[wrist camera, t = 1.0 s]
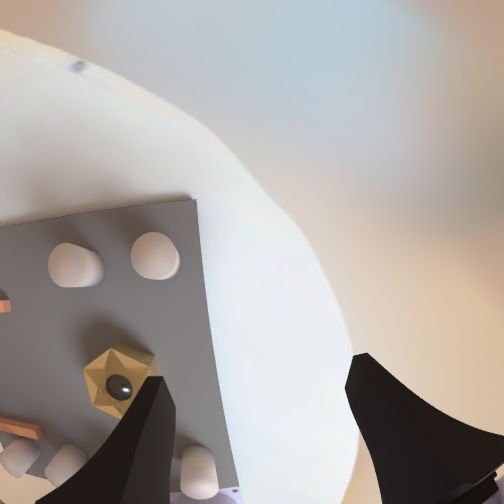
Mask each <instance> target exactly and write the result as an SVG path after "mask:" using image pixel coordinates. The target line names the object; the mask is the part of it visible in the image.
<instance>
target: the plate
mask: <svg viewBox="0 0 504 504" xmlns="http://www.w3.org/2000/svg"><path fill="white" fill-rule="evenodd" d="M2 300H10V306H11V312H0V417H2V418H6V419H10V420H14V421H19V422H23V423H28V424H33V425H39V426H40V427H41V430H42V432H43V435H42V436H41V437H40V438H39V439H33V438H29V437H24V436H20V435H16V434H12V433H8V432H5V431H1V430H0V442H1V444H2V446H3V448H4V450H3V451H2V452H1V453H0V462H1V464H2V466H3V467H4V468H5V469H6V470H7V471H8V472H9V473H10V474H11V475H13V476H15V477H17V478H20V477H22V476H23V474H24V473H26V474H30V475H33V476H37V477H41V478H44V479H48V480H49V481H50V482H51V483H52V484H53V485H54V486H56V487H59V486H60V485H61V484H63V483H64V482H65V481H66V480H68V479H69V478H70V477H71V476H73V475H74V474H75V473H76V472H77V471H78V470H79V469H80V468H81V467H82V466H83V465H84V464H85V463H86V462H87V461H88V460H89V459H90V458H91V457H92V456H93V455H94V454H95V453H96V452H97V450H98V449H99V448H100V447H101V446H102V445H103V443H104V442H105V441H106V439H107V438H108V437H109V435H110V434H111V433H112V431H113V430H114V429H115V427H116V426H117V424H118V423H119V421H120V420H121V419H119V418H116V417H114V416H112V415H110V414H108V413H106V412H104V411H102V410H100V409H98V408H96V407H95V406H93V404H92V401H91V397H90V394H89V390H88V386H87V383H86V379H85V375H84V370H83V368H85V367H86V366H87V365H89V364H90V363H91V362H93V361H94V360H95V359H96V358H98V357H99V356H100V355H102V354H103V353H104V352H106V351H107V350H108V349H110V348H111V347H112V346H114V345H115V344H116V343H118V342H119V341H120V340H123V341H125V342H127V343H129V344H131V345H133V346H136V347H138V348H140V349H142V350H144V351H146V352H148V353H150V354H153V355H155V356H156V362H157V367H158V372H159V376H163V377H164V379H165V382H166V384H167V387H168V389H169V392H170V394H171V397H172V399H173V401H174V404H175V406H176V431H175V439H174V447H173V455H172V463H171V472H170V493H173V492H183V493H184V494H185V495H186V496H188V497H190V498H193V499H208V498H211V497H213V496H215V495H216V494H217V493H218V491H219V489H223V488H231V487H237V486H239V482H238V478H237V474H236V469H235V465H234V460H233V455H232V451H231V446H230V441H229V436H228V431H227V426H226V421H225V415H224V410H223V405H222V399H221V393H220V387H219V382H218V376H217V369H216V363H215V357H214V350H213V343H212V337H211V330H210V322H209V315H208V307H207V300H206V291H205V283H204V274H203V266H202V256H201V246H200V236H199V226H198V214H197V202H196V199H195V200H184V201H174V202H164V203H155V204H146V205H138V206H130V207H122V208H115V209H107V210H100V211H93V212H87V213H80V214H74V215H68V216H62V217H56V218H51V219H45V220H40V221H34V222H29V223H24V224H19V225H14V226H9V227H5V228H0V301H2Z"/></svg>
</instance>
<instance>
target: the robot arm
mask: <svg viewBox="0 0 504 504" xmlns="http://www.w3.org/2000/svg"><path fill="white" fill-rule="evenodd" d="M345 391H346V395H347V398H348V402H349V405H350V408H351V411H352V413H353V416H354V418H355V420H356V423H357V425H358V427H359V429H360V432H361V434H362V436H363V438H364V440H365V443H366V445H367V447H368V450H369V452H370V455H371V458H372V461H373V465H374V468H375V472H376V475H377V480H378V484H379V488H380V493H381V498H382V504H504V475H502V476H501V477H500V478H498V479H497V480H496V481H495V480H494V478H495V477H496V476H497V473H496V472H495V470H497V469H498V468H499V467H500V466H501V465H502V464H504V436H502V435H498V434H494V433H490V432H486V431H483V430H480V429H478V428H475V427H472V426H470V425H467V424H465V423H463V422H461V421H459V420H456V419H454V418H452V417H450V416H448V415H447V414H445V413H443V412H441V411H440V410H438V409H436V408H435V407H433V406H431V405H430V404H429V403H427V402H426V401H424V400H423V399H421V398H420V397H419V396H417V395H416V394H415V393H413V392H412V391H411V390H410V389H408V388H407V387H406V386H405V385H404V384H402V383H401V382H400V381H399V380H398V379H396V378H395V377H394V376H393V375H392V374H391V373H389V372H388V371H387V370H386V369H385V368H384V367H383V366H382V365H381V364H379V363H378V362H377V361H376V360H375V359H374V358H373V357H371V356H370V355H369V354H368V353H363V354H359V355H354V356H353V359H352V363H351V367H350V370H349V374H348V378H347V381H346V385H345ZM175 431H176V406H175V404H174V401H173V399H172V397H171V394H170V392H169V389H168V387H167V384H166V382H165V379H164V377H163V376H148V377H147V378H146V379H145V381H144V382H143V384H142V386H141V388H140V389H139V391H138V393H137V394H136V396H135V398H134V399H133V401H132V403H131V404H130V406H129V408H128V409H127V411H126V412H125V414H124V415H123V417H122V418H121V420H120V421H119V423H118V424H117V426H116V427H115V429H114V430H113V431H112V433H111V434H110V435H109V437H108V438H107V439H106V441H105V442H104V443H103V445H102V446H101V447H100V448H99V449H98V450H97V452H96V453H95V454H94V455H93V456H92V457H91V458H90V459H89V460H88V461H87V462H86V463H85V464H84V465H83V466H82V467H81V468H80V469H79V470H78V471H77V472H76V473H75V474H74V475H73V476H71V477H70V478H69V479H68V480H66V481H65V482H64V483H63V484H61V485H60V486H59V487H57V488H56V489H55V490H53V491H52V492H50V493H48V494H47V495H45V496H44V497H42V498H40V499H39V500H37V501H36V502H35V504H243V500H242V496H241V491H240V487H239V486H237V487H231V488H223V489H219V491H218V493H217V494H216V495H215V496H213V497H211V498H208V499H193V498H190V497H188V496H186V495H185V494H184V493H183V492H173V493H170V472H171V463H172V455H173V447H174V439H175ZM234 489H237V490H234Z"/></svg>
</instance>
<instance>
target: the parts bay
mask: <svg viewBox="0 0 504 504" xmlns="http://www.w3.org/2000/svg"><path fill="white" fill-rule="evenodd" d="M0 312H11V306H10V300H2V301H0ZM0 430H1V431H5V432H8V433H12V434H16V435H20V436H24V437H29V438H33V439H39V438H40V437H41V436H42V435H43V432H42V430H41V427H40V426H39V425H33V424H28V423H23V422H19V421H14V420H10V419H6V418H2V417H0Z"/></svg>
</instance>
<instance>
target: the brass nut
mask: <svg viewBox="0 0 504 504" xmlns="http://www.w3.org/2000/svg"><path fill="white" fill-rule="evenodd" d="M83 370H84V375H85V379H86V383H87V386H88V390H89V394H90V397H91V401H92V404H93V406H95V407H96V408H98V409H100V410H102V411H104V412H106V413H108V414H110V415H112V416H114V417H116V418H119V419H121V418H122V417H123V415H124V414H125V412H126V411H127V409H128V408H129V406H130V404H131V403H132V401H133V399H134V398H135V396H136V394H137V393H138V391H139V389H140V388H141V386H142V384H143V382H144V381H145V379H146V378H147V377H148V376H159V372H158V367H157V362H156V356H155V355H153V354H150V353H148V352H146V351H144V350H142V349H140V348H138V347H136V346H133V345H131V344H129V343H127V342H125V341H123V340H120V341H119V342H118V343H116V344H115V345H114V346H112V347H111V348H110V349H108V350H107V351H106V352H104V353H103V354H102V355H100V356H99V357H98V358H96V359H95V360H94V361H93V362H91V363H90V364H89V365H87V366H86V367H85V368H83Z"/></svg>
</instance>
